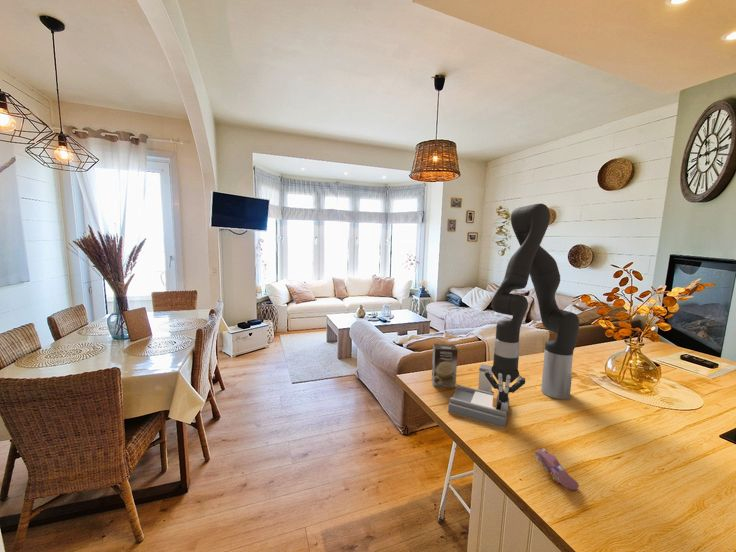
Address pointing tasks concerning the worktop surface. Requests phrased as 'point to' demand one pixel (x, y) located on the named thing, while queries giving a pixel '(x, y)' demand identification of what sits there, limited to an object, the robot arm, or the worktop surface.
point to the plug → (484, 379)
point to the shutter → (486, 399)
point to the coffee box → (444, 365)
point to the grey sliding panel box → (477, 407)
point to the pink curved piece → (556, 469)
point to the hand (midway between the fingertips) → (502, 401)
